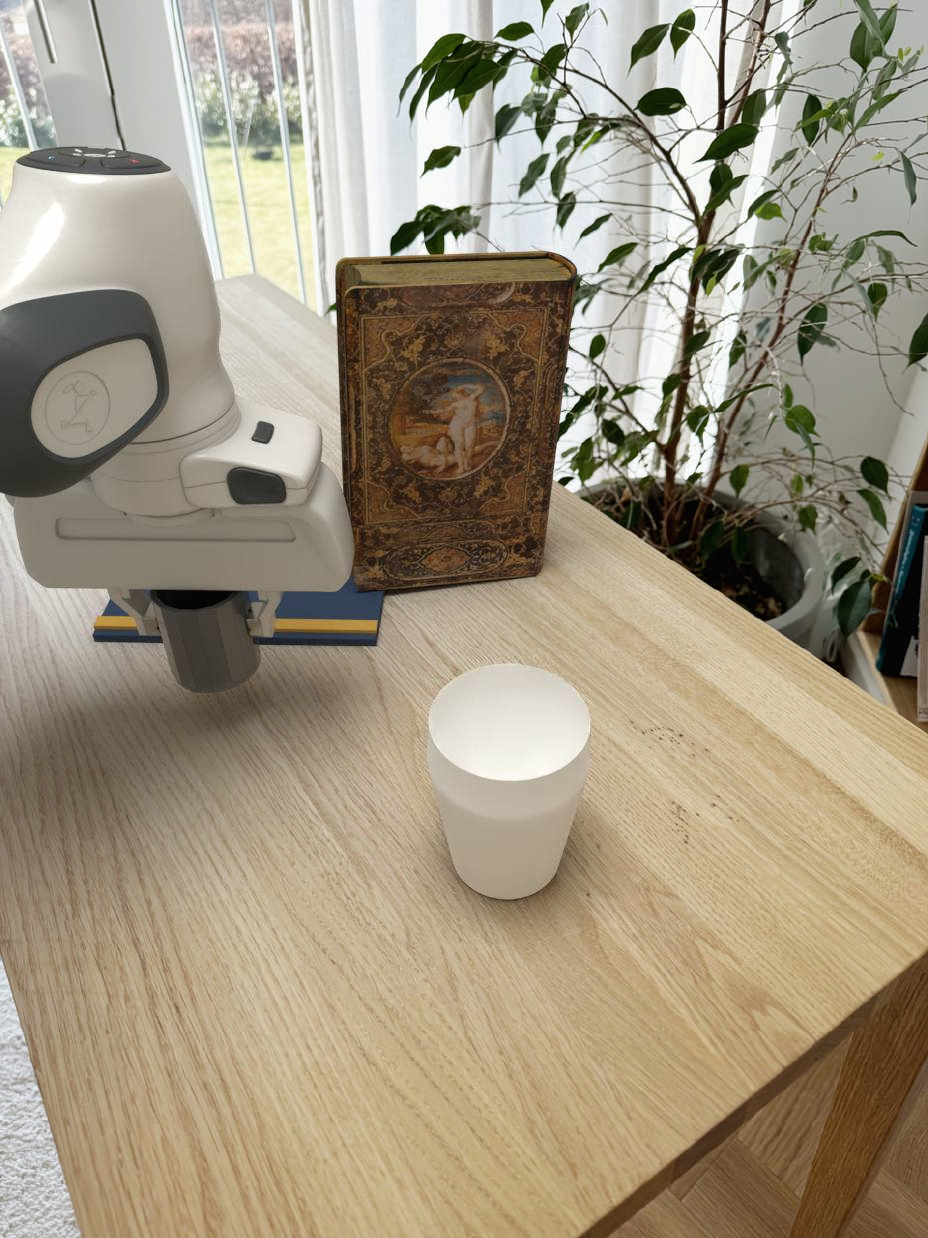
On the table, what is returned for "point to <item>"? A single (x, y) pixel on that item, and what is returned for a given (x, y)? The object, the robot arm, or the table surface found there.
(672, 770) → the table surface
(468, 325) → the book
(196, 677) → the grey tumbler
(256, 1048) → the table surface
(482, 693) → the cup
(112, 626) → the towel
